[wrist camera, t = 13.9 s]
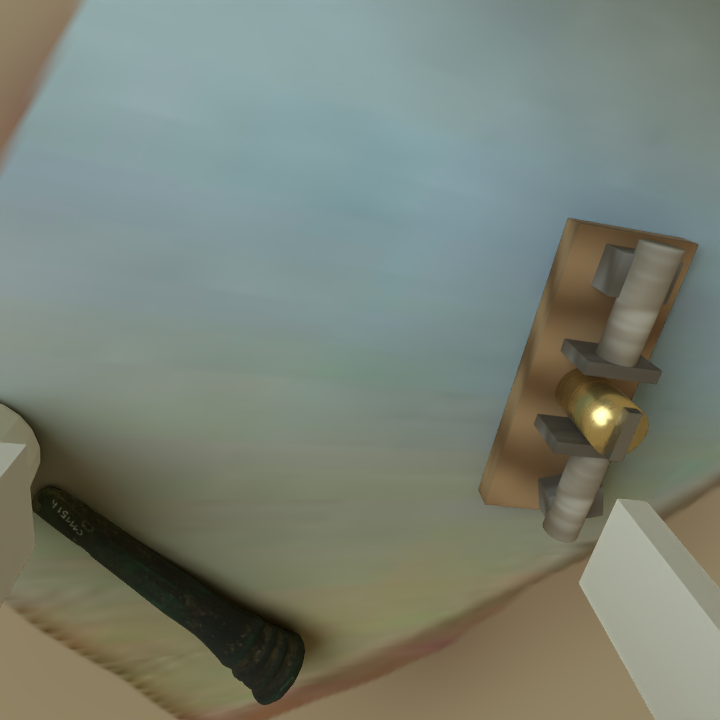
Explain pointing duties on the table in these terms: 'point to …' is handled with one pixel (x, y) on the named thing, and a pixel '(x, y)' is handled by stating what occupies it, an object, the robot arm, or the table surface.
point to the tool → (183, 599)
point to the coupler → (602, 413)
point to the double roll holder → (581, 366)
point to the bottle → (20, 437)
